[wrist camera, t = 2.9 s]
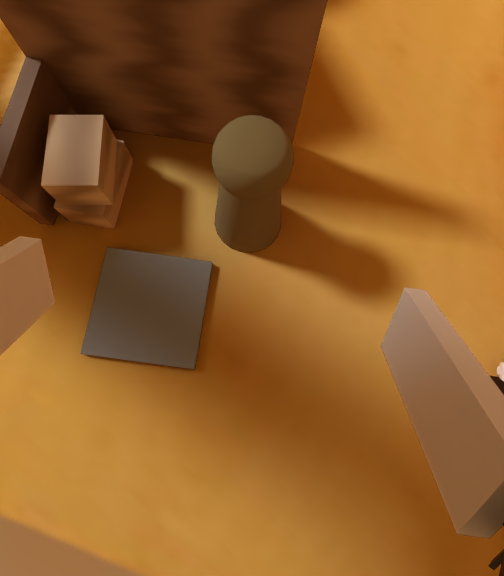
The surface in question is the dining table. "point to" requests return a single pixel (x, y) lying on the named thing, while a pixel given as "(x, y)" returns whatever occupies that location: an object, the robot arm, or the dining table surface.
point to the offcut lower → (103, 213)
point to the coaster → (148, 308)
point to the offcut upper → (79, 160)
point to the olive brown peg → (250, 181)
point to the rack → (149, 72)
